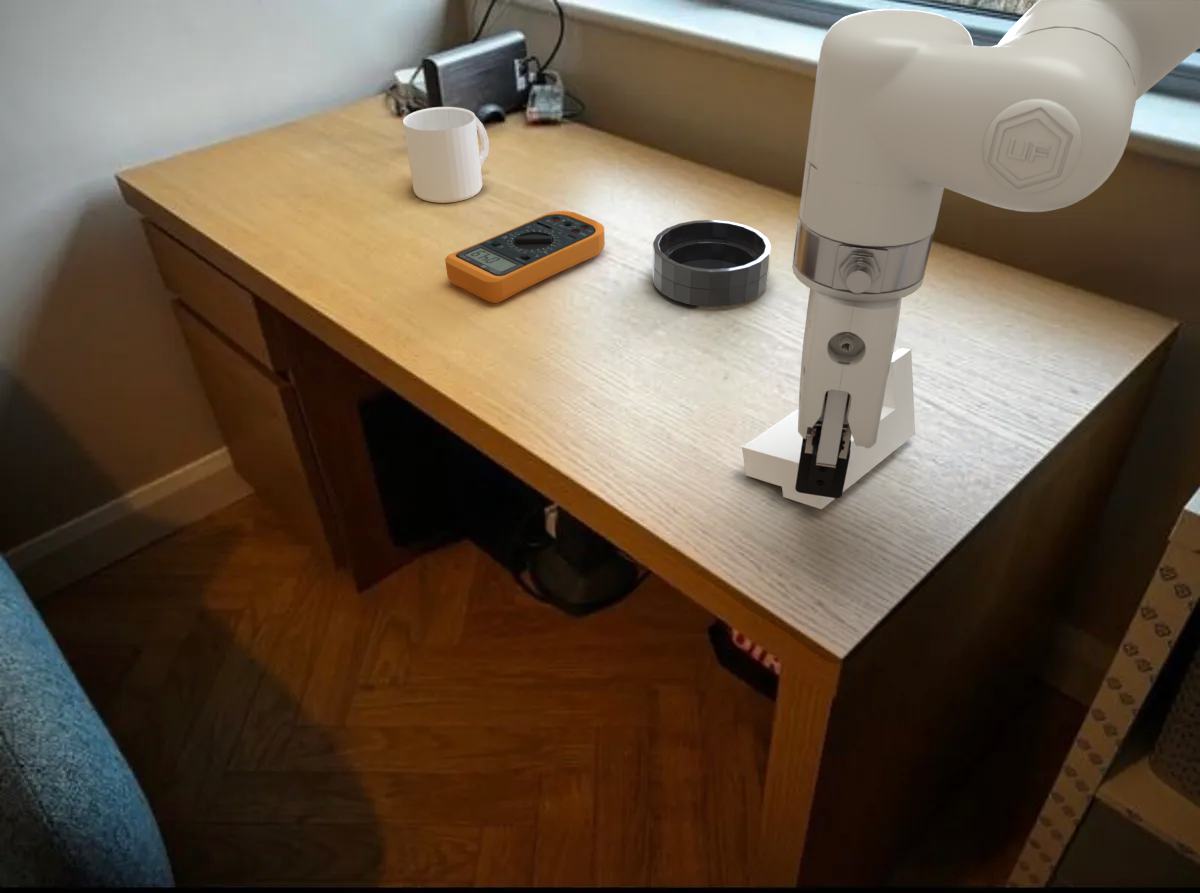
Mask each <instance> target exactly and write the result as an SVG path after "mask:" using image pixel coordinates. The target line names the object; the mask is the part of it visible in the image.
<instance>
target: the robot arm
mask: <svg viewBox="0 0 1200 893" xmlns="http://www.w3.org/2000/svg"><path fill="white" fill-rule="evenodd" d="M826 32H827V33H826V34H825V36H824V38H823V40H822V43H821V45H820V49H819V50H820V51H819V55H818V61H817V68H816V74H815V75H816V76H815V84H814V92H813V101H812V106H811V107H812V108H811V115H810V122H809V131H808V139H807V147H806V154H805V163H804V171H803V180H802V187H801V188H802V189H801V196H800V204H799V213H798V217H797V226H796V234H795V241H794V250H793V258H792V265H791V268H792V272H793V274H794V276H795V277H796V278H797V280H798V281H799V282H800V283H801V284H803V286H805V287H807V288H809V294H808V302H807V309H806V315H805V326H804V333H803V342H802V350H801V351H802V352H801V363H800V364H801V365H800V374H799V376H800V377H799V392H798V394H799V395H798V408H799V412H798V432H799V434H800V435H801V436H802V437H803V441H802V447H801V454H800V460H799V467H798V473H797V480H796V486H795V489H796V491H797V492H799V493H805V494H811V495H818V496H824V497H830V498H835V499H839V498H842V496H843V493H844V492H843V488H844V483H845V478H846V473H847V468H848V463H849V458H850V447H851V440H850V439H851V434H852V436H853V439H854V442H855V444H856V446H862V447H865V448H870V447H872V446H873V445H874V444H875V443H876V441H877V435H878V429H879V423H880V418H881V412H882V407H883V402H884V397H885V391H886V386H887V381H888V376H889V371H890V366H891V361H892V356H893V353H894V352H895V351H894V350H895V346H896V340H897V333H898V328H899V321H900V315H901V314H900V313H901V308H902V307H901V306H902V299H903V298H905V297H908V296H910V295H912V294H914V293H915V292H916V291H918V290H919V288H921V286H922V285H923V282H924V279H925V275H926V269H927V265H928V261H929V256H930V252H931V248H932V243H933V239H934V235H935V230H936V226H937V221H938V217H939V213H940V208H941V204H942V199H943V194H944V191H945V189H946V190H949V191H952V192H955V193H956V194H960V195H963V196H965V197H968V198H971V199H973V200H976V201H979V202H981V203H984V204H987V205H990V206H994V207H998V208H1000V209H1003V210H1005V209H1006V210H1010V211H1015V212H1024V213H1043V212H1049V211H1055V210H1060V209H1063V208H1067V207H1069V206H1071V205H1074V204H1076V203H1079V202H1080V201H1081V200H1084V199H1085V198H1087V197H1089V196H1090V195H1091V194H1093V193H1094V192H1095V191H1096V190H1098V189H1100V187H1101V186H1102V185H1103V184H1104V183H1105V182H1106V181H1107V180H1108V179H1109V177H1110V176H1111V175H1112V173H1113V172H1114V171H1115V169H1116V167H1117V166H1118V164H1119V162H1120V161H1121V158H1122V157H1123V155H1124V152H1125V149H1126V147H1127V145H1128V141H1129V138H1130V133H1131V130H1132V123H1133V117H1134V112H1135V107H1136V103H1137V101H1138V100H1139V99H1140V98H1141V97H1143V95H1144V94H1145V93H1147V92H1148V91H1150V90H1151V88H1153V87H1154V86H1155V85H1156V84H1157V83H1158V82H1160V81H1161V80H1162V79H1164V78H1165V76H1167V75H1168V74H1169V73H1171V72H1172V71H1173V70H1174V69H1175V68H1176V67H1178V66H1179V65H1180V64H1181V63H1183V62H1184V61H1185V60H1187V59H1188V58H1189V57H1190V56H1191V55H1192V54H1194V53H1195V52H1196V51H1197V50H1199V49H1200V0H1037V1H1036V2H1035V3H1034V4H1033V5H1032V6H1031V7H1030V8H1029V9H1027V11H1026V12H1025V13H1024V14H1023V15H1022V16H1021V17H1020V18H1019V19H1018V20H1017V21H1016V22H1015V24H1013V26H1011V28H1010V29H1009V30H1008V31H1007V32H1006V33H1005V35H1004V36H1003V37H1002V38H1001V39H1000V41H999V42H998V44H995V45H991V46H986V45H974V43H973V39H972V36H971V34H970V31H968V29H967V28H966V27H964V25H963V24H962V23H960V22H959V21H957V20H954V19H952V18H950V17H948V16H945V15H942V14H939V13H935V12H929V11H925V10H924V11H923V10H916V9H903V8H902V9H901V8H885V9H870V10H864V11H859V12H856V13H852V14H848V15H845V16H843V17H842V18H841V19H839V20H837V21H836V22H835V23H834V24H832V25H831V27H830V28H829V29H828V30H827V31H826Z"/></svg>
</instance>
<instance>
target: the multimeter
mask: <svg viewBox="0 0 1200 893" xmlns="http://www.w3.org/2000/svg"><path fill="white" fill-rule="evenodd" d="M605 242H606V241H605V227H604V225H603V224H602V223H600V222H599V221H596V220H595V219H592V218H590V217H587V216H585V215H582V214H579V213H577V212H574V211H569V210H556V211H551V212H548V213H545V214H542V215H540V216H538V217H535V218H533V219H531V220H529V221H527V222H524V223H522V224H520V225H517V226H515V227H513V228H511V229H509V230H506V231H503V232H501V233H499V234H497V235H495V236H492V237H489V238H488V239H484V240H483V241H480V242H478V243H475V244H473V245H470V246H468V247H464V248H463V249H461V250H458V251H455V252H453V253H450V254H448V255H447V256H445V258H444V262H445V269H446V275H447V278H448V280H449V282H451V284H453V285H455V286H456V287H459V288H461V289H463V290H465V291H466V292H468V293H471V294H473V295H475V296H477V297H479V298H481V299H483V300H485V301H487V302H489V303H492V304H493V303H494V304H499V303H500V302H503V301H505V300H506V299H508V298H510V297H512V296H514V295H516V294H518V293H520V292H522V291H523V290H526V289H527V288H530V287H531V286H534V285H535V284H538V283H540V282H542V281H544V280H546V279H548V278H550V277H553V276H554V275H556V274H559V273H561V272H563V271H565V270H568V269H570V268H572V267H574V266H576V265H579V264H581V263H583V262H586V261H588V260H590V259H593V258H595V257H597V256H598V255H600V254H601V252H603V250H604V248H605V245H606V244H605Z"/></svg>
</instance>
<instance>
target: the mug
mask: <svg viewBox="0 0 1200 893" xmlns="http://www.w3.org/2000/svg"><path fill="white" fill-rule="evenodd" d="M402 124H403V131H404V137H405V143H406V150H407V156H408V163H409V169H410V175H411V183H412V189H413V192H414V194H415V195H416V197H418V198H419V199H420V200H423V201H425V202H428V203H429V202H430V203H436V204H448V203H449V204H451V203H456V202H461V201H466V200H469V199H471V198H473V197H475V196H477V195H478V194H479V193H480V192H481V191H482V188H483V175H482V174H483V173H482V166H483V164H484V163H485V162H486V159H488V158H487V157H488V155H489V152H490V139H489V136H488V132H487V130H486V128H485V126H484V123H483V122H481V121H480V119H479V118H478V117H477V116H476V114H475V112H473V111H471V110H470V109H467V108H462V107H457V106H436V107H435V106H434V107H427V108H423V109H419V110H416V111H413V112H411V113H409V114H407V115H406V116H405V117H404V118H403V119H402ZM478 136H479V137H478ZM479 138H480V147H479ZM480 148H481V149H480Z"/></svg>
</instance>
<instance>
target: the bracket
mask: <svg viewBox="0 0 1200 893" xmlns="http://www.w3.org/2000/svg"><path fill="white" fill-rule="evenodd" d="M913 378H914V377H913V356H912V349H910V348H906V347H899V348H898V349H896V350H895V351H893V356H892V361H891V366H890V371H889V376H888V381H887V386H886V391H885V397H884V402H883V407H882V412H881V418H880V423H879V429H878V435H877V441H876V443H875V444H874V445H873V446H872V447H870V448H865V447H862V446H856V444H855V442H854V439H853V436H852V434H851V439H850V440H851V447H850V458H849V463H848V468H847V473H846V478H845V483H844V488H843V493H844V492H845V491H847V490H848V489H849V488H850V487H851V486H853V485H854V484H856V483H857V482H858V481H859V480H860V479H861V478H863V477H864V476H865V475H866V474H867V473H869V472H870V471H871V470H872V469H874V468H875V467H876V466H878V465H879V464H880V463H881V462H883V461H884V460H885V459H886V458H888V457H889V456H890V455H891V454H892V453H894V452H895V451H896V450H897V449H898V448H900V447H901V446H902V445H904V444H905V443H907V441H908V440H910V439H911V438H912V437H913V436H915V435H916V418H915V401H914V400H915V398H914V379H913ZM798 412H799V407H797V409H795V410H793V411H792V412H791V413H789V414H787V415H786V416H785V417H783V418H781V420H778V421H777V422H776V423H775V424H773V425H772V426H770V427H769V428H767V429H766V430H764V431H763V432H762V433H760V434H758V435H756V437H754V438H753V439H751V440H750V441H748V442H747V443H745V444H743V446H741V451H742V457H743V464H744V471H745V472H744V473H745V476H746V477H749V478H752V479H753V478H754V479H756V480H759V481H763V482H765V483H769V484H772V485H775V486H779V487H781V490H782V498H785V499H788V500H791V501H794V502H798V503H801V504H804V505H806V506H810V507H814V508H815V509H820V510H822V509H824V508H825V507H826V506H828V505H829V504H830V503H832V502H833V501H834V500H835V499H836V498H830V497H824V496H818V495H811V494H805V493H799V492H797V491H796V489H795V486H796V480H797V473H798V467H799V460H800V454H801V447H802V441H803V437H802V436H801V435H800V434H799V432H798Z"/></svg>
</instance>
